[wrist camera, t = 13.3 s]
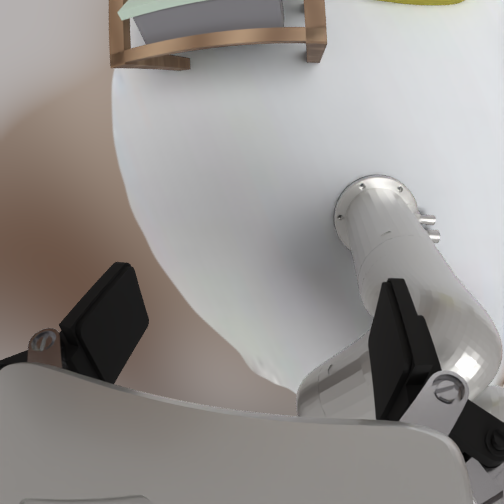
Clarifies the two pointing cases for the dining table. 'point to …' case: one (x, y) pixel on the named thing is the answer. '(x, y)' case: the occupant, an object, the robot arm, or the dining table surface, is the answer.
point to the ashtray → (425, 2)
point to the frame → (211, 40)
